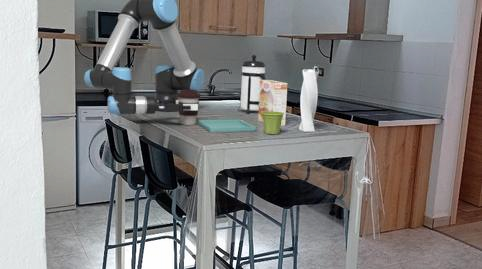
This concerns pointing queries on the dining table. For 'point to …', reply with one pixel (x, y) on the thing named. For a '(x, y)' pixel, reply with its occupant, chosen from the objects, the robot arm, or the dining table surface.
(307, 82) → the skyscraper
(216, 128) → the tray
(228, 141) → the dining table surface
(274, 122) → the plant pot
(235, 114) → the dining table surface
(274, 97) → the coffeecake box
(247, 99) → the coffee press
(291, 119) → the dining table surface
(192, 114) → the coffee cup
